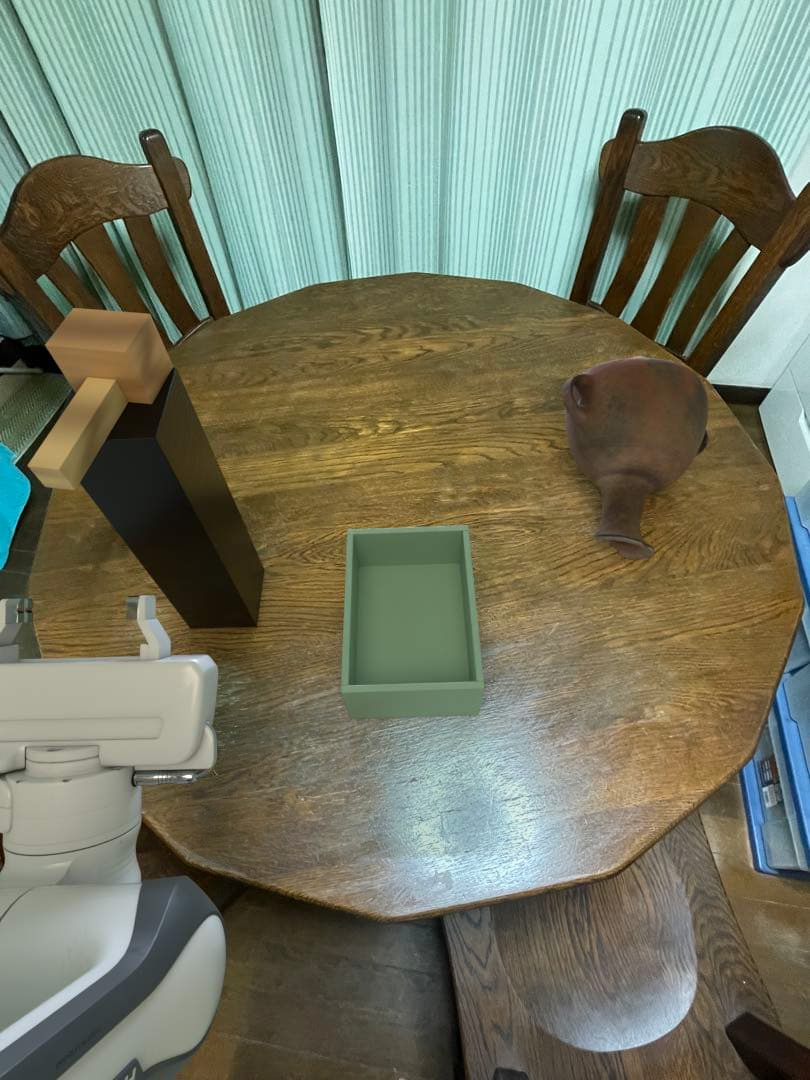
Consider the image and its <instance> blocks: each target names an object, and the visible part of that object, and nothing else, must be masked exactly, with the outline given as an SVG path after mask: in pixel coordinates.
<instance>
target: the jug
mask: <svg viewBox="0 0 810 1080" xmlns="http://www.w3.org/2000/svg"><path fill="white" fill-rule="evenodd" d="M707 392H708V391H707V388H706V386H705V384H704V383H703V381H702V380H701V378H700V377H699V376H698V375H697V373H695V371H693V370H692V369H690V368H689V367H687V366H685V365H683V364H681V363H678V362H674V361H671V360H668V359H661V358H653V357H652V358H651V357H645V356H642V355H638V356H637V355H636V356H633V357H627V358H617V359H612V360H608V361H604V362H601V363H598V364H596V365H594V366H591V367H589V368H587V369H586V370H584V371H583V372H582V373H579V374H575V375H573V376H572V377H570V378H568V380H566V381H565V382H564V384H563V386H562V391H561V398H562V403H563V405H564V423H565V432H566V439H567V443H568V446H569V449H570V452H571V454H572V457H573V459H574V462H575V464H576V466H577V468H578V469H579V471H580V472H581V474H583V476H584V477H585V478H586V479H587V480H588V481H589V482H591V483H592V484H593V485H595V486H597V487H598V488H599V489H598V490H599V491H598V493H599V495H601V496H602V498H601V499H602V503H601V504H602V505H601V515H600V522H599V524H598V528H597V530H596V531H595V533H594V535H593V538H594V539H595V540H596V541H597V542H599V541H607V542H608V543H609V542H610V543H611V544H612V545H613V546H614V547H615V549H616V550H617V551H618V552H619V554H620V556H622V558H625V559H627V560H630V561H636V560H646V559H651V558H653V556H654V555H655V553H656V552H655V551H654V546H653V545H651V544H649V543H647V542H646V541H645V540H644V539H643V537H642V531H641V521H642V517H643V512H644V507H645V504H646V500H647V499H648V497H649V495H651V494H654V493H658V492H660V491H662V490H664V489H666V488H668V487H669V486H671V485H673V484H674V482H676V481H677V480H678V479H679V478H680V477H681V476H682V475H683V474H684V473H685V472H686V470H687V469H688V468H690V465H691V464H692V462H693V461H694V459H695V458H697V457H698V456H700V455H701V454H702V453H703V452H704V451H705V449H706V448H707V446H708V443H709V434H708V430H707V426H708V422H709V409H710V408H709V406H710V405H709V398H708V393H707Z"/></svg>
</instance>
